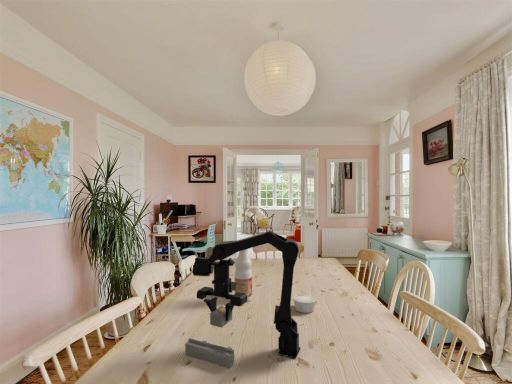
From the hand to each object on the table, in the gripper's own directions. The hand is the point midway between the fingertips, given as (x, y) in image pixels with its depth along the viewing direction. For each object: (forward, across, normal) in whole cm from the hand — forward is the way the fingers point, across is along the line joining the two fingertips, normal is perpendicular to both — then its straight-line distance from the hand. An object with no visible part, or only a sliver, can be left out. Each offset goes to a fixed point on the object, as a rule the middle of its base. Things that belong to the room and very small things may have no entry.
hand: (221, 319), depth 98 cm
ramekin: (+10, -21, -44) cm, 50 cm away
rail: (+10, 0, +6) cm, 12 cm away
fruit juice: (+10, +12, -43) cm, 46 cm away
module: (+1, 0, 0) cm, 1 cm away
